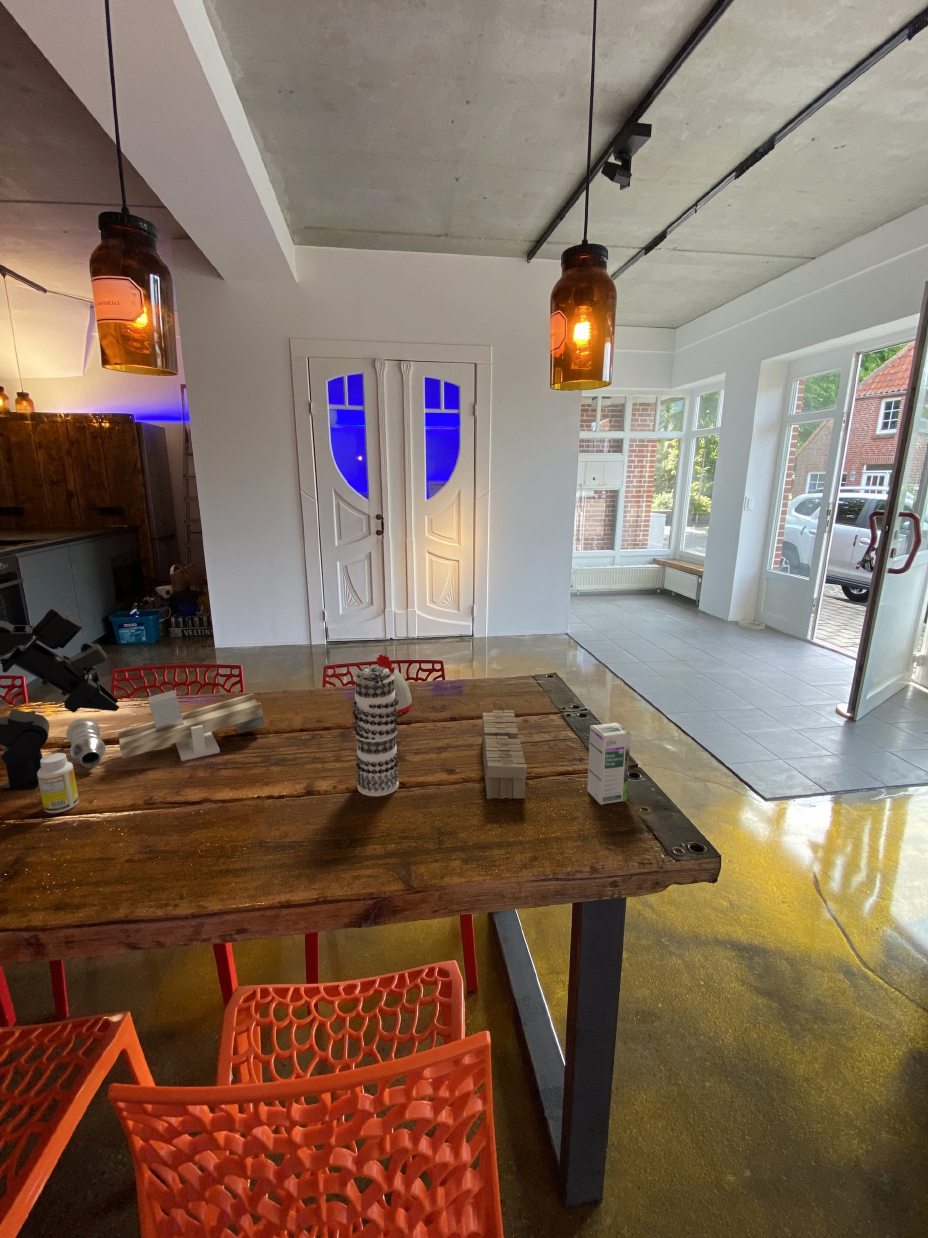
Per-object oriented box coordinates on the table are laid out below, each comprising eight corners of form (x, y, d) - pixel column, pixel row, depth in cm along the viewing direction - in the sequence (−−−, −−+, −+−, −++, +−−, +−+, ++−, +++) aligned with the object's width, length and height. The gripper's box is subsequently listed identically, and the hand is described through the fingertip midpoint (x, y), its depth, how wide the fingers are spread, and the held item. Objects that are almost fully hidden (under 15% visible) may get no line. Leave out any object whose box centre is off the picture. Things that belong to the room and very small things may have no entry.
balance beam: (126, 771, 123) (119, 745, 122) (124, 756, 130) (117, 731, 128) (265, 726, 138) (260, 703, 137) (257, 715, 145) (252, 693, 143)
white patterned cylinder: (407, 777, 120) (404, 664, 114) (390, 800, 111) (386, 679, 105) (367, 772, 122) (363, 660, 116) (347, 793, 113) (342, 674, 108)
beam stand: (181, 761, 126) (178, 733, 125) (173, 738, 138) (170, 713, 136) (219, 752, 131) (217, 725, 129) (209, 731, 142) (206, 706, 141)
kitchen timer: (394, 695, 168) (393, 646, 164) (421, 708, 157) (420, 657, 154) (352, 706, 159) (350, 655, 156) (378, 721, 149) (376, 667, 145)
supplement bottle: (67, 796, 112) (59, 748, 110) (85, 802, 110) (77, 754, 107) (37, 810, 107) (27, 761, 105) (55, 817, 105) (46, 767, 102)
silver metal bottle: (87, 746, 137) (97, 778, 122) (58, 734, 133) (64, 767, 118) (104, 722, 139) (116, 752, 123) (76, 711, 134) (85, 740, 119)
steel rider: (157, 735, 127) (149, 703, 125) (156, 729, 131) (147, 697, 129) (184, 727, 130) (176, 696, 128) (182, 721, 134) (174, 690, 131)
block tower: (481, 742, 139) (485, 803, 110) (482, 710, 137) (485, 763, 109) (514, 742, 139) (526, 803, 110) (514, 710, 137) (526, 763, 109)
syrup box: (600, 805, 109) (604, 736, 106) (586, 790, 115) (590, 723, 112) (626, 801, 111) (632, 732, 108) (611, 786, 116) (615, 720, 113)
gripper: (75, 645, 109) (147, 688, 118) (77, 625, 125) (140, 665, 133) (31, 691, 107) (108, 732, 115) (38, 665, 122) (105, 703, 131)
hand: (117, 705), depth 124 cm, fingers open, 4 cm apart
